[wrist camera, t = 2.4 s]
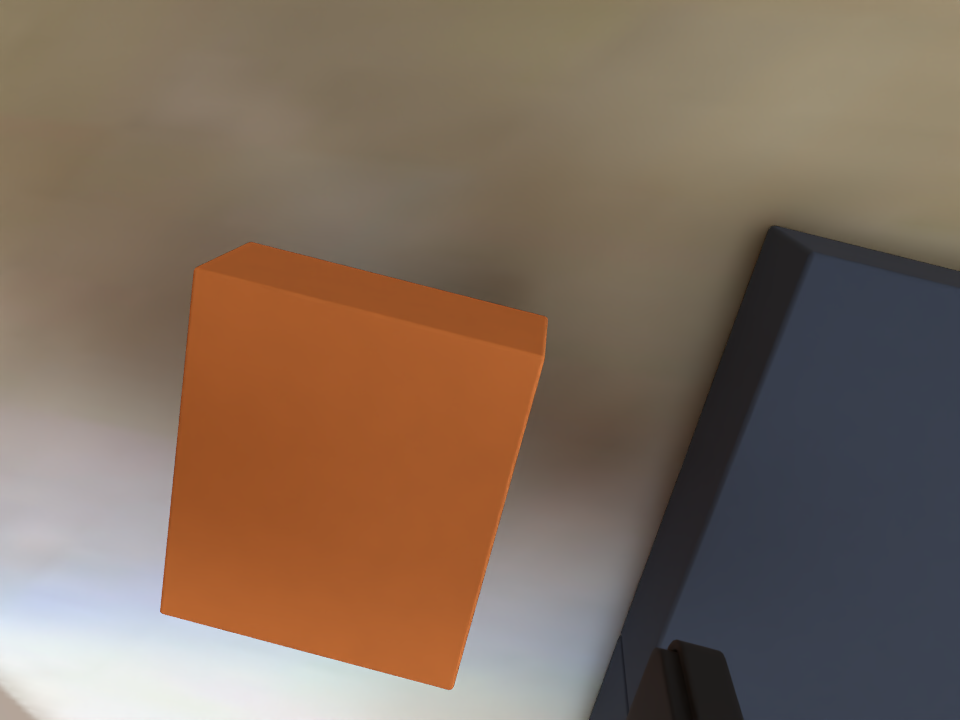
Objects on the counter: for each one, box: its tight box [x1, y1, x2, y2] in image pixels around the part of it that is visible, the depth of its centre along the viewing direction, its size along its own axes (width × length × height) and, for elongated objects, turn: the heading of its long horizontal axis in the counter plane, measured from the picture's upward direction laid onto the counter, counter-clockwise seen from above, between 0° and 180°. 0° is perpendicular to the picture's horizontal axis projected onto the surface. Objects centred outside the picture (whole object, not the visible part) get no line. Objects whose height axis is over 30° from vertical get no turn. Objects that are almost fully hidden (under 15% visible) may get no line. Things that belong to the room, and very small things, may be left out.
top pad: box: [160, 242, 548, 690], centre depth 14 cm, size 6×5×4 cm
